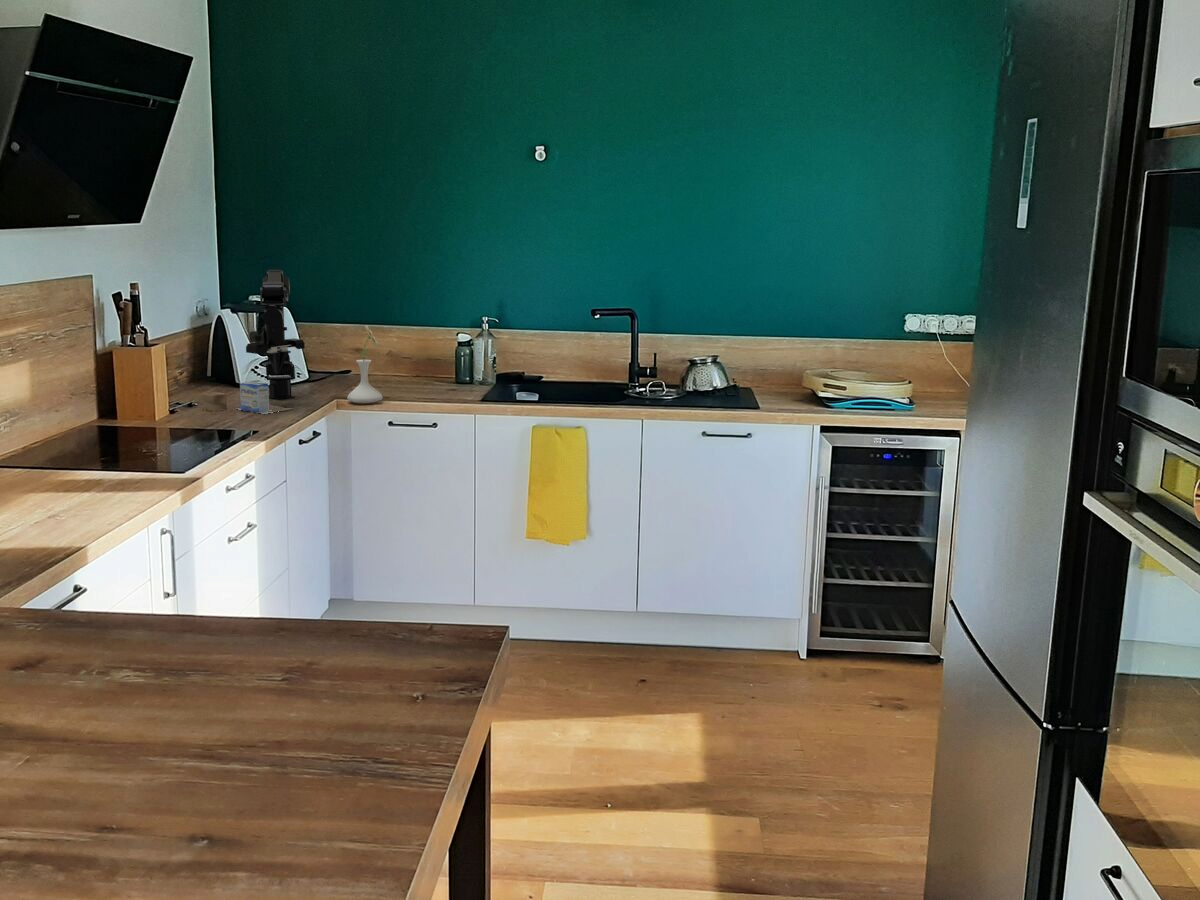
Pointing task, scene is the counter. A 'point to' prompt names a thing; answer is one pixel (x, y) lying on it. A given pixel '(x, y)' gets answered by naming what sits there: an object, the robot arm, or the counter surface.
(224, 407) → the walnut block
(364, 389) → the flower in vase
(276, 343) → the robot arm
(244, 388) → the medicine box
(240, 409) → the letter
